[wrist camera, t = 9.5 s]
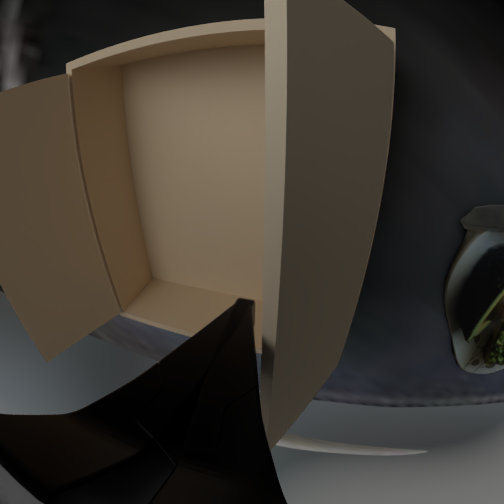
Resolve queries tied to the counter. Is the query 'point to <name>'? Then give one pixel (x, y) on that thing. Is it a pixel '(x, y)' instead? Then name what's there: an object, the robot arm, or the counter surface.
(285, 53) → the near flap
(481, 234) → the salad plate
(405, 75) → the counter surface
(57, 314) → the far flap
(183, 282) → the carton
